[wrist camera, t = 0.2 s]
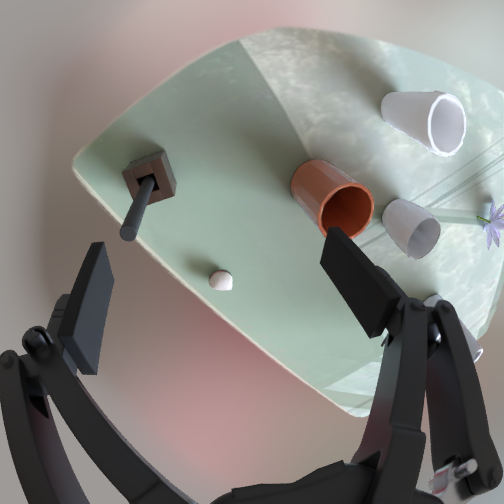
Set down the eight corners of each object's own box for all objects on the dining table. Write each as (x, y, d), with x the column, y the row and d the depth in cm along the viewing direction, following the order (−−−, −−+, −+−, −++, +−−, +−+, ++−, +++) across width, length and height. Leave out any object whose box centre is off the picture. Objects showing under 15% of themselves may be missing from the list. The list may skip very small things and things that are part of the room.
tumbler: (323, 148, 40) (360, 170, 31) (346, 188, 45) (381, 217, 36) (280, 180, 42) (306, 209, 33) (307, 216, 46) (334, 252, 37)
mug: (369, 222, 50) (398, 250, 42) (394, 185, 46) (428, 208, 38) (401, 244, 55) (427, 270, 47) (423, 212, 51) (453, 236, 43)
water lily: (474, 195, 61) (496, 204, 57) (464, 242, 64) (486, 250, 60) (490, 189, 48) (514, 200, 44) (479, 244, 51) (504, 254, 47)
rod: (153, 165, 36) (126, 222, 22) (160, 172, 37) (139, 234, 23) (145, 172, 37) (115, 233, 22) (152, 180, 38) (128, 244, 23)
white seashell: (222, 262, 48) (224, 271, 46) (239, 279, 51) (241, 288, 49) (203, 275, 49) (204, 284, 47) (220, 291, 52) (222, 300, 50)
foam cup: (380, 141, 41) (432, 164, 30) (366, 91, 35) (421, 101, 25) (417, 125, 40) (468, 146, 29) (406, 79, 34) (461, 89, 24)
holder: (164, 149, 35) (160, 157, 31) (176, 183, 39) (174, 196, 35) (129, 162, 35) (121, 172, 31) (142, 195, 39) (136, 209, 34)
